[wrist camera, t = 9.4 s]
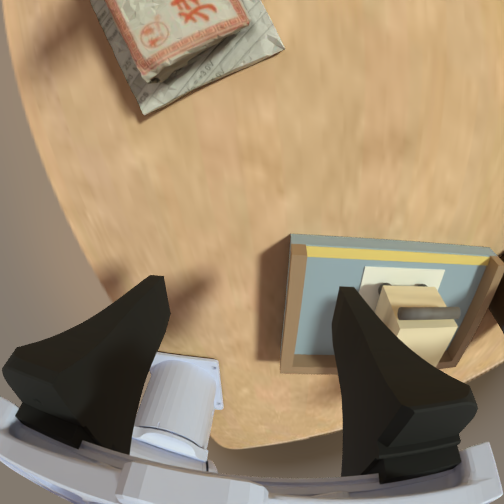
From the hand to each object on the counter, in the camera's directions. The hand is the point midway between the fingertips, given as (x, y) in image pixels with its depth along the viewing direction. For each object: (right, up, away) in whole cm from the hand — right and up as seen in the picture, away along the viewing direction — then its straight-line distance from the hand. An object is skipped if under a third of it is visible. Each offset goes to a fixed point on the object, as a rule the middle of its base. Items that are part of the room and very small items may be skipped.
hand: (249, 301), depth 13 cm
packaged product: (-6, +20, +2) cm, 21 cm away
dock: (+12, -2, +12) cm, 17 cm away
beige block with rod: (+12, -3, +11) cm, 16 cm away
